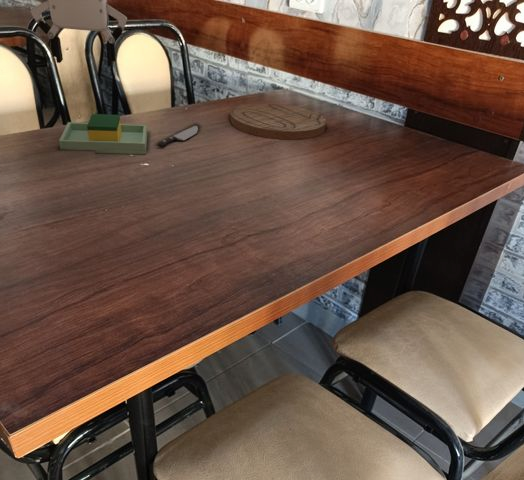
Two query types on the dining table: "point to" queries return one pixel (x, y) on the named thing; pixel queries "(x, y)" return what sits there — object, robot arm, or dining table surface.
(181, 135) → the chef's knife
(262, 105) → the trivet
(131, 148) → the tray
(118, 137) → the sponge
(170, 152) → the dining table surface
